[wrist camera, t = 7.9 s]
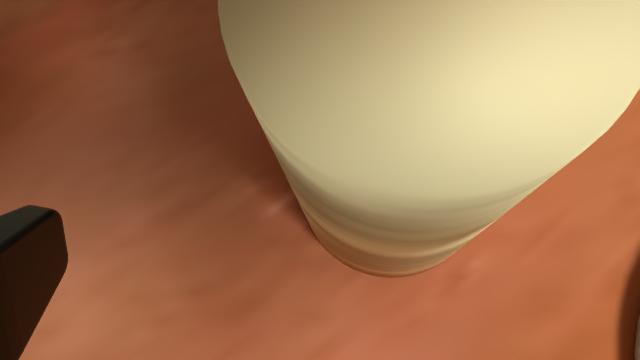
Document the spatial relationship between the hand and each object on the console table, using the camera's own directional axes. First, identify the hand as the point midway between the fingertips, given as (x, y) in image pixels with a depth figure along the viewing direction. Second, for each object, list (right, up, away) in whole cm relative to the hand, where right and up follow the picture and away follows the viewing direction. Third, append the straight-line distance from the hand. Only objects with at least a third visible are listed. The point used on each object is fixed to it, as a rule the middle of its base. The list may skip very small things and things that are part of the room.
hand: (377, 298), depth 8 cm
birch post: (+1, +1, +11) cm, 11 cm away
